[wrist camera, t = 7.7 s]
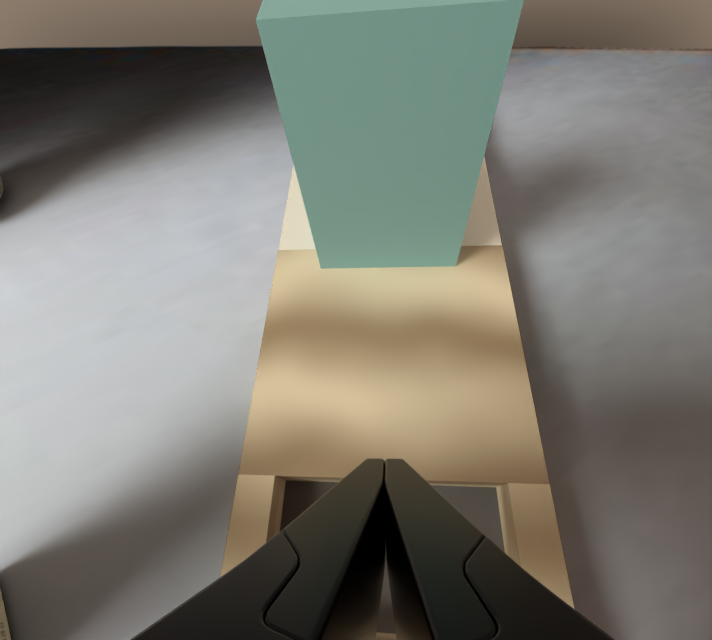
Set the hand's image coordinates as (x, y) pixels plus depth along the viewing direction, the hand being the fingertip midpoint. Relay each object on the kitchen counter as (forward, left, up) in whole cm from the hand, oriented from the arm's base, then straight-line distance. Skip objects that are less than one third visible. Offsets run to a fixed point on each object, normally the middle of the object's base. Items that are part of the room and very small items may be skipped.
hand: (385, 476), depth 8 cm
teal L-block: (+12, -12, -7) cm, 18 cm away
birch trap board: (+8, -8, -9) cm, 14 cm away
